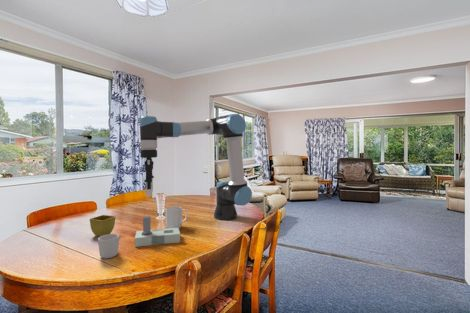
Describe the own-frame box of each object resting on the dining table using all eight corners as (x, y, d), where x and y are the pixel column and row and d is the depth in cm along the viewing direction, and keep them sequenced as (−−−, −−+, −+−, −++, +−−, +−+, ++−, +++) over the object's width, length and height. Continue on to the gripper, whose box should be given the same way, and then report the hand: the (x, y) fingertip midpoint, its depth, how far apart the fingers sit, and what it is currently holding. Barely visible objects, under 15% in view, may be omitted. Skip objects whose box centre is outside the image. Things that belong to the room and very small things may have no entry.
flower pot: (116, 233, 133) (116, 216, 132) (102, 238, 124) (102, 220, 124) (103, 231, 136) (103, 214, 135) (89, 236, 127) (88, 218, 127)
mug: (167, 231, 136) (167, 210, 136) (164, 226, 144) (164, 207, 144) (189, 228, 141) (189, 208, 141) (184, 223, 149) (184, 205, 149)
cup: (106, 249, 111) (105, 231, 110) (124, 249, 111) (124, 231, 111) (94, 260, 100) (94, 240, 100) (115, 259, 101) (115, 240, 100)
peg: (150, 240, 122) (150, 215, 122) (150, 242, 119) (150, 217, 119) (143, 241, 121) (143, 216, 121) (143, 243, 118) (143, 217, 118)
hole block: (178, 235, 129) (178, 227, 129) (180, 242, 120) (180, 233, 120) (136, 239, 124) (136, 231, 123) (134, 246, 114) (134, 238, 114)
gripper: (141, 149, 131) (142, 190, 132) (138, 149, 107) (139, 199, 108) (157, 149, 133) (157, 189, 134) (157, 149, 109) (157, 198, 110)
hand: (149, 193), depth 121 cm, fingers open, 13 cm apart
